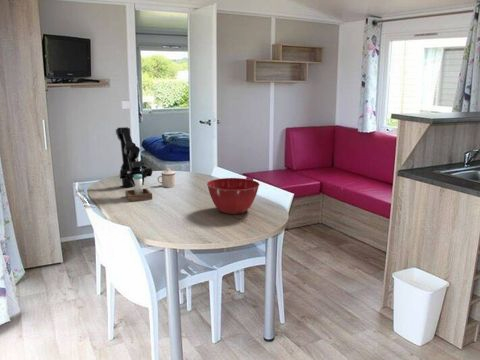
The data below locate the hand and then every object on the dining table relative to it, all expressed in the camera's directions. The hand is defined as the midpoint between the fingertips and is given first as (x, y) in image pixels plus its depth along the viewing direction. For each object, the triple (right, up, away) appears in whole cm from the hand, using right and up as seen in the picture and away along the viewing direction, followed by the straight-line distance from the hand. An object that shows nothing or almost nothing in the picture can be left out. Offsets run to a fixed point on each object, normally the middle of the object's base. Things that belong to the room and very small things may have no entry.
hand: (138, 185), depth 257 cm
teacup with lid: (+11, -1, +35) cm, 36 cm away
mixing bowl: (+56, -14, -16) cm, 60 cm away
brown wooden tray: (-1, -8, +3) cm, 9 cm away
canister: (-1, -6, +3) cm, 6 cm away
